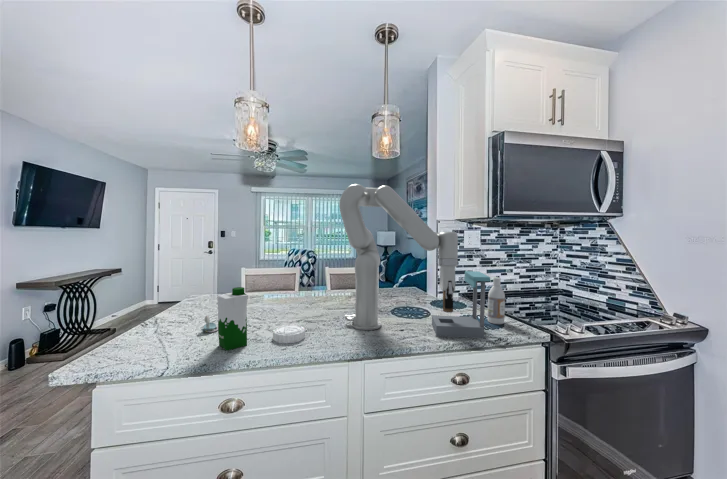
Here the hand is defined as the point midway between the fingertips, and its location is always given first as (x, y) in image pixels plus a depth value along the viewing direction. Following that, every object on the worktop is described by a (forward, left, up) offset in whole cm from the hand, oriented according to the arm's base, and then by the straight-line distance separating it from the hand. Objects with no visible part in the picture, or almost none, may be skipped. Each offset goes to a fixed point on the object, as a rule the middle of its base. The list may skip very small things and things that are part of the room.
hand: (447, 306), depth 125 cm
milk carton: (-78, -25, -10) cm, 83 cm away
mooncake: (-61, -15, -10) cm, 64 cm away
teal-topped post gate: (+11, 0, -10) cm, 15 cm away
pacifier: (-95, -12, -10) cm, 96 cm away
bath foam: (+24, +14, -10) cm, 29 cm away
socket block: (+4, 0, -10) cm, 11 cm away
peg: (0, 0, -2) cm, 2 cm away
